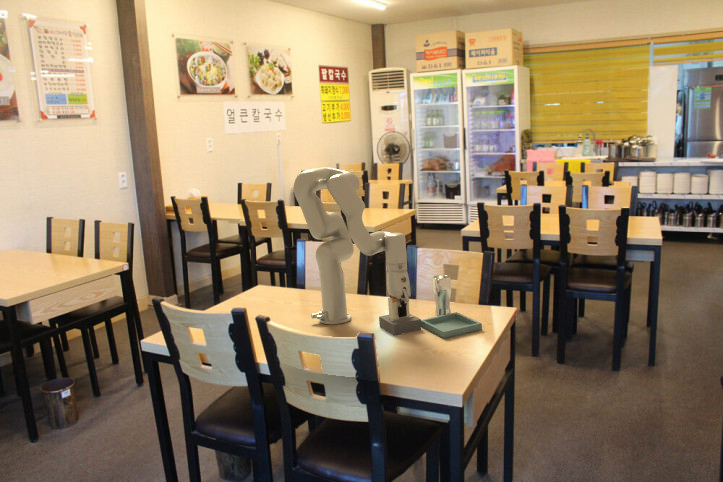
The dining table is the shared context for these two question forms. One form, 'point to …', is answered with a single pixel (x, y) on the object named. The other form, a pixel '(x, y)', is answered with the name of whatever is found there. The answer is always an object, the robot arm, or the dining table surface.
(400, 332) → the block
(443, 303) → the beer glass
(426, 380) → the dining table surface
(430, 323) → the tray
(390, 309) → the cream rectangular block
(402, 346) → the dining table surface
